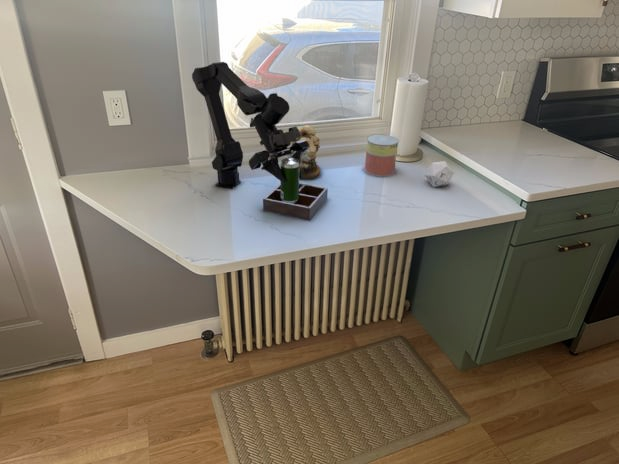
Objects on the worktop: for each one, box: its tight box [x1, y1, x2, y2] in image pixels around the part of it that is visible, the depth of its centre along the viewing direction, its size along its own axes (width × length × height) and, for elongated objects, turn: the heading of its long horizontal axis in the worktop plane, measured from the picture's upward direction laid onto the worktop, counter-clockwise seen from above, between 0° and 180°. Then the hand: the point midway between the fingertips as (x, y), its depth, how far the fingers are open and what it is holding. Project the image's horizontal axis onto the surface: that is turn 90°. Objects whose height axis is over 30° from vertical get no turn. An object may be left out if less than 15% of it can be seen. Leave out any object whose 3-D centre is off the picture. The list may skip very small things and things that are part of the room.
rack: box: [262, 182, 329, 221], centre depth 147 cm, size 16×16×4 cm
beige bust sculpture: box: [291, 124, 321, 181], centre depth 168 cm, size 18×12×17 cm, turn 18°
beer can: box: [280, 157, 300, 203], centre depth 134 cm, size 5×5×12 cm
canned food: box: [364, 134, 400, 177], centre depth 171 cm, size 11×11×12 cm
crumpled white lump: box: [424, 160, 455, 188], centre depth 162 cm, size 8×9×10 cm
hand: (293, 180), depth 133 cm, fingers closed on beer can, 5 cm apart
